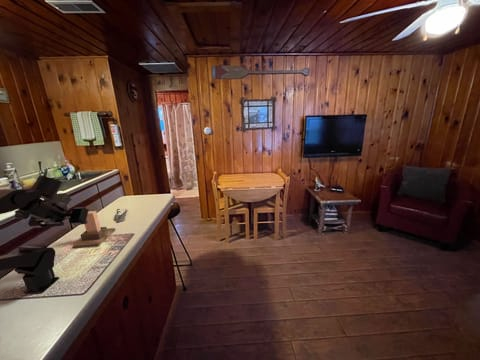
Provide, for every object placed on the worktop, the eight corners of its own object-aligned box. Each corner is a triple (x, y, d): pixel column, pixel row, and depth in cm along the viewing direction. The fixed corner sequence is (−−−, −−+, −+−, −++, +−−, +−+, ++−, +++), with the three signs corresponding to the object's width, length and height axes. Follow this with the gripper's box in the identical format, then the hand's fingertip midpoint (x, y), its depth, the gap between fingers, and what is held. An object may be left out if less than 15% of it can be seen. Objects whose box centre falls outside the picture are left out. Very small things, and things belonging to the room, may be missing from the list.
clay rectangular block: (99, 237, 95) (92, 213, 91) (88, 237, 94) (81, 213, 91) (102, 234, 97) (96, 210, 93) (91, 235, 97) (85, 211, 93)
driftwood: (124, 222, 112) (124, 219, 112) (111, 225, 110) (110, 221, 109) (129, 209, 131) (128, 206, 130) (117, 211, 128) (117, 208, 128)
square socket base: (98, 246, 89) (96, 237, 88) (73, 248, 89) (70, 239, 88) (115, 230, 103) (113, 222, 102) (93, 231, 102) (91, 224, 101)
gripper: (78, 187, 73) (103, 203, 86) (24, 190, 72) (58, 206, 85) (68, 216, 67) (96, 229, 81) (10, 220, 66) (48, 232, 80)
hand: (75, 223), depth 82 cm, fingers open, 9 cm apart
